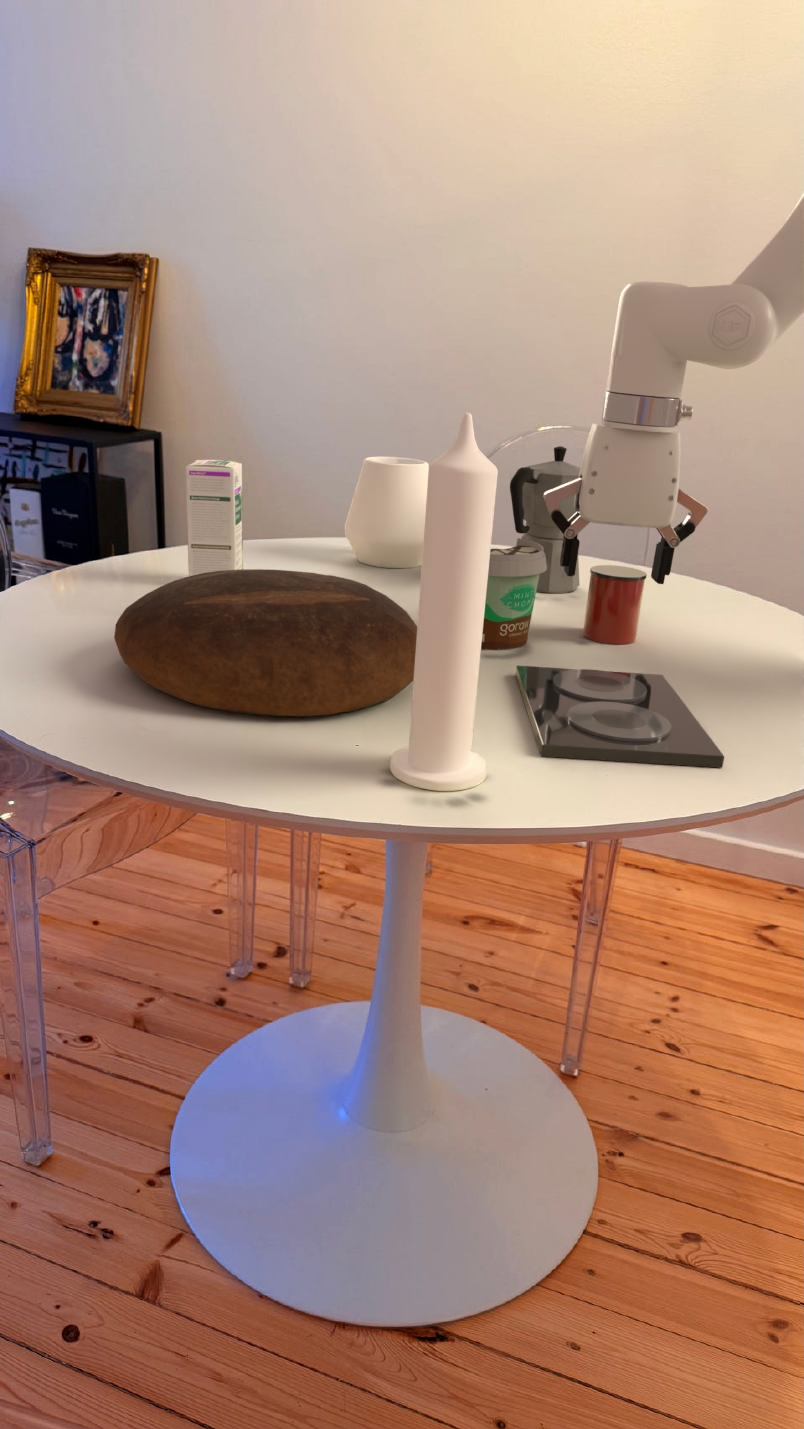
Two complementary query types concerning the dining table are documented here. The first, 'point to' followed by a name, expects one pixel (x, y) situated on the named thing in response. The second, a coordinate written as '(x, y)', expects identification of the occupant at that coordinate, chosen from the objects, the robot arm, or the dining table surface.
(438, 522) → the candle
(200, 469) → the syrup box
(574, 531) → the robot arm
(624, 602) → the red canister
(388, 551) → the white vase
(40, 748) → the dining table surface
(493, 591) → the food container
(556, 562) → the coffeepot
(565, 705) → the hob
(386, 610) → the bread
